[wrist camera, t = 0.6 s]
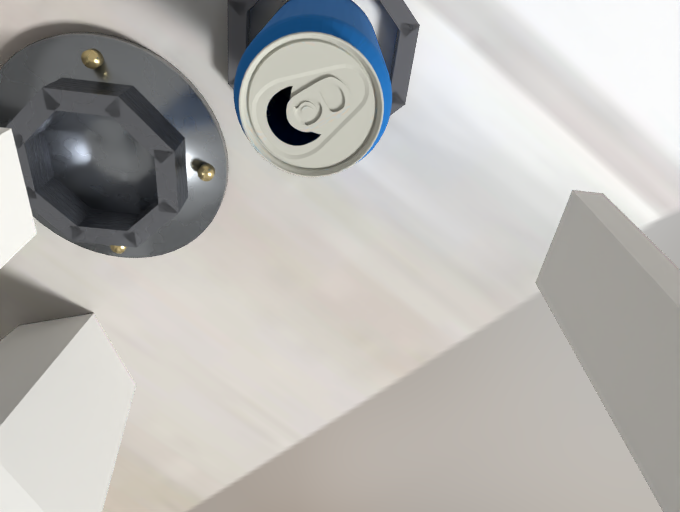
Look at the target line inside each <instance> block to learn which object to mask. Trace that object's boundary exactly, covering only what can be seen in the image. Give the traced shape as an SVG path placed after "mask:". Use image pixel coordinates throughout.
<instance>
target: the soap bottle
mask: <svg viewBox="0 0 680 512" xmlns="http://www.w3.org/2000/svg"><path fill="white" fill-rule="evenodd" d="M135 388H136V383H135V381H134V379H133V378H132V376H131V374H130V373H129V371H128V369H127V368H126V366H125V364H124V363H123V361H122V359H121V358H120V356H119V354H118V353H117V351H116V349H115V348H114V346H113V344H112V343H111V341H110V339H109V338H108V336H107V334H106V333H105V331H104V329H103V328H102V326H101V324H100V322H99V321H98V319H97V317H96V316H95V314H94V313H92V314H86V315H80V316H74V317H67V318H61V319H55V320H49V321H43V322H37V323H31V324H25V325H19V326H18V327H17V328H15V329H14V330H13V331H12V332H10V333H9V334H8V335H7V336H6V337H4V338H3V339H2V340H1V341H0V512H102V510H103V507H104V503H105V499H106V495H107V492H108V488H109V484H110V481H111V477H112V473H113V470H114V466H115V462H116V459H117V455H118V451H119V447H120V444H121V440H122V436H123V433H124V429H125V425H126V422H127V418H128V414H129V411H130V407H131V403H132V399H133V396H134V392H135Z"/></svg>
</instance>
